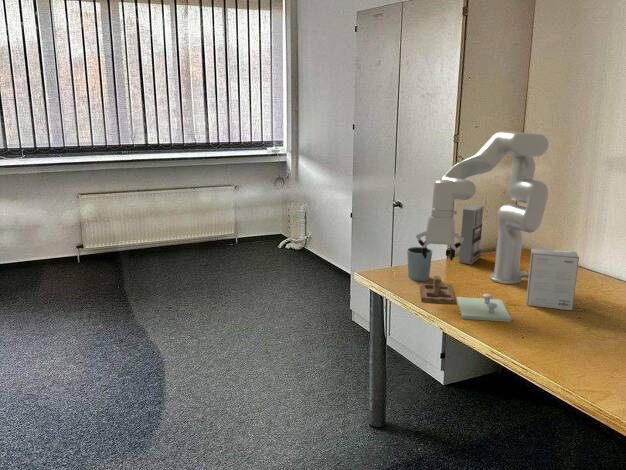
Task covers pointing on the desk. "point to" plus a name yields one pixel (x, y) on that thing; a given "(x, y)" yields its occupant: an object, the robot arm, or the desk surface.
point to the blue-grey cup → (418, 264)
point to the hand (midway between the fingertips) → (438, 258)
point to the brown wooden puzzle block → (436, 292)
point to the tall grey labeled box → (471, 234)
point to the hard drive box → (552, 279)
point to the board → (483, 308)
